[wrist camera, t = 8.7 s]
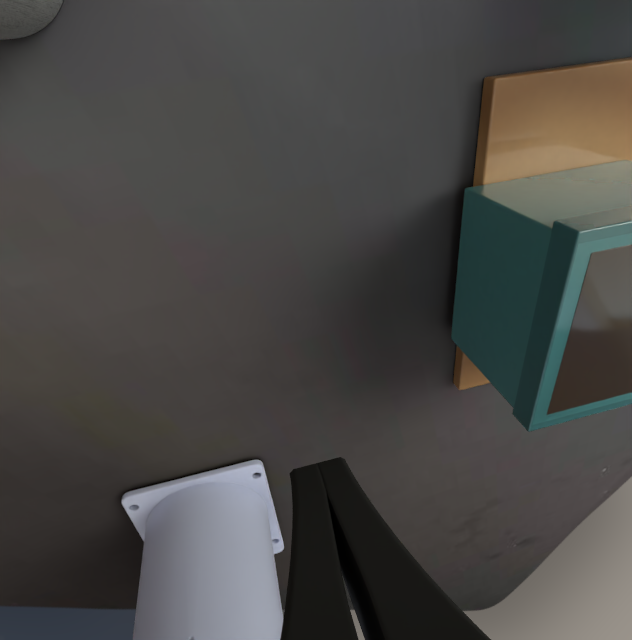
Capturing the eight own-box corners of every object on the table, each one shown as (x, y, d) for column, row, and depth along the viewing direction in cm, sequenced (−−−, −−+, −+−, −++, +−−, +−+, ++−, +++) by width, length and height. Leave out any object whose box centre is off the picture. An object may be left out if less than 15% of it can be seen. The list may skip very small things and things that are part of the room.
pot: (449, 343, 22) (586, 311, 24) (528, 433, 17) (700, 386, 18) (464, 180, 18) (633, 151, 19) (579, 232, 12) (806, 186, 14)
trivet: (625, 340, 27) (635, 347, 26) (452, 382, 25) (459, 391, 25) (734, 42, 18) (755, 41, 18) (483, 77, 17) (494, 77, 16)
